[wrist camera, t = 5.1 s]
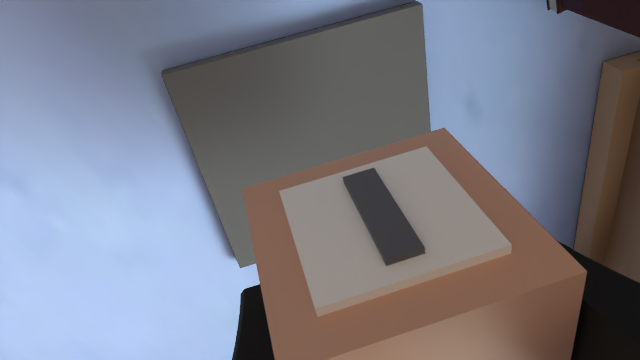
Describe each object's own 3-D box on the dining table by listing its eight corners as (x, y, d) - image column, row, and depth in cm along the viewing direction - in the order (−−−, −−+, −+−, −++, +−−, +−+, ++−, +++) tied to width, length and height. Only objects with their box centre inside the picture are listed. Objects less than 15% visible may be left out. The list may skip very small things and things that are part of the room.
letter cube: (451, 271, 15) (557, 431, 10) (290, 324, 14) (335, 512, 10) (443, 115, 11) (590, 255, 7) (237, 176, 11) (272, 362, 7)
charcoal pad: (417, 1, 15) (422, 4, 15) (431, 201, 20) (435, 206, 19) (161, 70, 14) (161, 75, 14) (239, 261, 19) (240, 268, 19)
